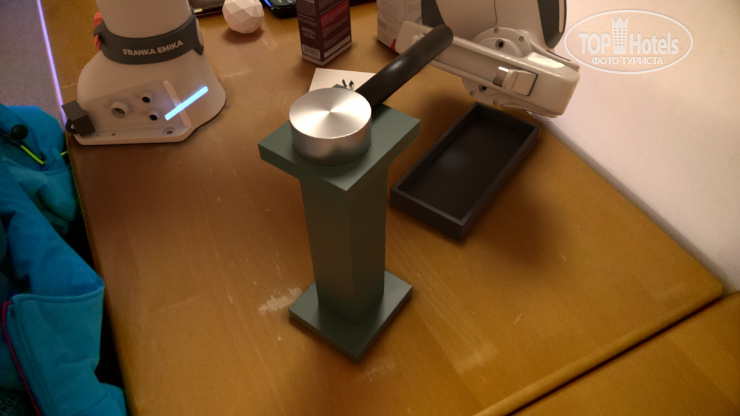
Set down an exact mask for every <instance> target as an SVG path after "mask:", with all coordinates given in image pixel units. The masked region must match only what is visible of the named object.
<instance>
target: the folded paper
mask: <svg viewBox="0 0 740 416" xmlns="http://www.w3.org/2000/svg"><path fill="white" fill-rule="evenodd" d="M376 73H377V72H376ZM376 73H374V72H363V71H354V70H353V71H352V70H345V69H343V70H342V69H332V68H321V67H315V70H314V74H313V77H312V80H311V83H310V87H309V90H308V92H310V91H313V90H317V89H321V88H332V87H333V86H334V85H336V84H339V85H341V86H343V87H346V88H348V89H350V90H353V91H355V90H356V89H357V88H359V87H360V86H361V85H362V84H364V83H365V82H366V81H368V80H369V79H370V78H371V77H373V76H374V75H375V74H376Z"/></svg>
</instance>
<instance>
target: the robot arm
mask: <svg viewBox="0 0 740 416" xmlns="http://www.w3.org/2000/svg"><path fill="white" fill-rule="evenodd" d="M94 1H95V4H96V6H97V8H98V11H97V12H96V13H95V14H94V16H93V21H92V25H93V27H94V29H93V34H92V35H93V38H94V41H93V43H94V47H95V48H96V51H97V53H96V54H95V55H94V56H93V57H92V58H91V59H90V60H89V61H88V62H87V63H86V64H85V65H84V66H83V68H82V70H81V72H80V75H79V76H78V80H77V85H76V97H77V99H74V100H71V101H69V102H66V103H64V104H61V105H60V107H61V109H62V111H63V112H64V114H65V116H66V117H67V120H66V122H65V124H64V128H65V130H66V132H67V133H68V134H71V135H73V138H75V140H76V141H77V143H78V144H80V145H83V146H96V145H98V146H99V145H123V144H125V145H126V144H150V143H151V144H153V143H154V144H155V143H177V142H183V141H184V140H187V138H188V137H189V136H190V135H192V133H193V132H194V131H195V130H196V129H197V128H199V127H200V126H203V124H206V123H207V122H209V121H210V120H212V119H213V118H214V117H216V116H217V115H218V114H219V113H220V111H221V110H222V109H223V107H224V105H225V103H226V99H227V94H226V91H225V89H224V87H223V85H222V84H221V83H220V81H219V80H218V78H217V76H216V74H215V73H214V70H213V68H212V66H211V64H210V61H209V59H208V57H207V55H206V52H205V42H204V37H203V33H202V29H201V26H200V22H199V19H198V18H197V15H196V13H195V10H194V8H193V7H192V5H190V3H189V0H94ZM567 3H568V2H567V0H421V18H422V24H419V23H415V22H412V21H404V22H403V23H402V25H401V27H400V30H399V33H398V36H397V40H396V44H395V49H396V51H397V52H398V53H400V54H402V53H403V52H404V51H406V50H407V49H408V48H409V47H411V46H412V45H413V44H414V43H416V42H417V41H418V40H419V39H421V38H422V37H423V36H424V35H426V34H427V33H428V32H430V31H431V30H432V29H433V28H435V27H436V26H438V25H447V26H449V27H450V28H451V29H452V31H453V34H454V38H453V41H452V43H451V45H450V46H449V47H448V48H446V49H445V50H444V51H443V52H442V53H441V54H439V55H438V56H437V57H436V58H435V59H434V60H432V61H431V62H430V63H429V64H428V65H427V66H430V67H433V68H436V69H439V70H441V71H444V72H446V73H449V74H452V75H454V76H456V77H459V78H461V81H462V84H463V86H464V88H465V89H466V92H467V93H468V94H469V96H470V97H472V98H473V99H474V100H475V101H478V102H480V103H483V104H485V105H488V106H500V107H502V108H514V109H520V110H521V111H525V112H529V113H532V114H536V115H538V116H541V117H546V118H549V119H557V118H558V117H559V116H563V115H564V114H565V111H566V110H567V107H568V105H569V103H570V101H571V100H572V97H573V95H574V93H575V91H576V88H577V86H578V84H579V81H580V78H581V75H580V73H579V71H580V70H581V69H580V68H581V66H580V64H579V63H577V62H573V61H572V60H571V59H568V58H566V57H563V56H561V55H559V54H557V53H556V51H555V48H556V47H557V46H558V45H559V43H560V41H561V40H562V38H563V37H564V34H565V31H566V27H567V19H568V18H567V16H568V5H567ZM397 52H396V53H397ZM398 53H397V54H398Z"/></svg>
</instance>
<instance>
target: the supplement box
mask: <svg viewBox="0 0 740 416" xmlns="http://www.w3.org/2000/svg"><path fill="white" fill-rule="evenodd" d="M350 1H351V0H294V2H295V10H296V11H295V12H296V17H297V25H298V26H297V27H298V34H299V41H300V48H301V54H302V55H301V56H302V57H301V58H302V59H304V60H306V61H309V62H311V63H313V64H316V65H318V66H320V67H324V66H325V65H326V64H328V63H329V62H330V61H332V60H333V59H335V58H336V57H337V56H338V55H340V54H342V53H343V52H344V51H345V50H347V49H348V48H350V47H351V46H353V41H352V40H353V39H352V19H351V2H350Z"/></svg>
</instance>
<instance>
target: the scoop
mask: <svg viewBox="0 0 740 416" xmlns="http://www.w3.org/2000/svg"><path fill="white" fill-rule="evenodd" d="M453 38H454V34H453V31H452V29H451V28H450V27H449V26H447V25H438V26H436V27H435V28H433V29H432V30H431V31H430V32H428V33H427V34H426V35H424V36H423V37H422V38H421V39H419V40H418V41H417V42H416V43H414V44H413V45H412V46H411V47H409V48H408V49H407V50H406V51H404V52H403V53H402V54H400V55H399V54H398V55H397V56H396V57H395V58H394V59H392V60H391V61H390V62H389V63H388V64H387V65H386V66H384V67H383V68H381V69H380V70H378V71H377V72H376V74H375V75H374V76H373V77H371V78H370V79H369V80H368V81H366V82H365V83H364V84H362V85H361V86H360V87H359V88H357V89H356V90H355V91H351V90H348V89H343V88H321V89H317V90H313V91H310V92H309V91H307V92H305V93H303V94H302V95H300V96H299V97H297V98H296V99H295V100H294V101H293V102H292V103H291V105H290V107H289V110H288V120H289V122H290V128H291V135H292V141H293V146H294V149H295V150H296V152H297V153H298V154H299V155H300V156H301V157H302V158H304V159H305V160H307V161H309V162H312V163H315V164H319V165H329V166H332V165H341V164H345V163H348V162H351V161H353V160H356V159H357V158H359V157H360V156H362V155H363V154H364V153H365V152H366V151H367V149H368V148H369V146H370V144H371V112H373V111H374V110H375V109H376V108H377V107H378V106H380V105H381V104H384V102H385V101H387V100H388V99H389V98H390V97H392V96H393V95H394V94H395V93H397V92H398V90H400V89H401V88H402V87H403V86H404V85H406V84H407V83H408V82H409V81H410V80H411V79H413V78H414V77H415V76H416V75H417V74H419V73H420V72H421V71H422V70H423V69H424V68H426V67H427V66H429V65H428V64H429V63H430V62H431V61H432V60H434V59H435V58H436V57H437V56H438V55H439V54H441V53H442V52H443V51H444V50H445V49H446V48H448V47H449V46H450V45H451V43H452V41H453Z"/></svg>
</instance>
